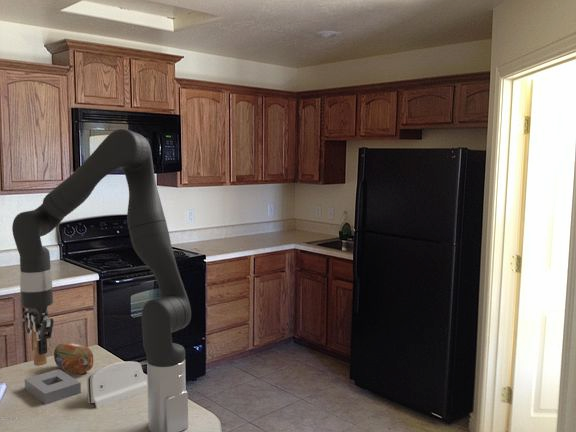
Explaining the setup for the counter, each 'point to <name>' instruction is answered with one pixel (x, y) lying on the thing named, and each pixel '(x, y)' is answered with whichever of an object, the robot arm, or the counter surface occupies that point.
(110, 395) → the hinge
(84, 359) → the tin
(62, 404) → the counter surface
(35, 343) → the peg
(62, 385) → the hole block
